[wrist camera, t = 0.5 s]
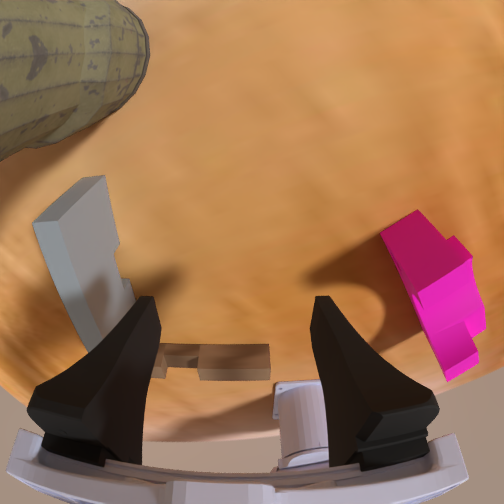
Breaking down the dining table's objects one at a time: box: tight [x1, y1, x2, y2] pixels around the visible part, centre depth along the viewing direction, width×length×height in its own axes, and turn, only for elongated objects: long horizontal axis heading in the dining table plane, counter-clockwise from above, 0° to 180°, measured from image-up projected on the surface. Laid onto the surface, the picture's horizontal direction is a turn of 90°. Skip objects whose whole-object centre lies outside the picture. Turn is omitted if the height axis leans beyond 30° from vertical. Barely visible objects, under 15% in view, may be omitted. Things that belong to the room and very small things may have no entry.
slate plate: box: [32, 175, 136, 353], centre depth 21 cm, size 15×2×7 cm, turn 0°
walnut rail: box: [151, 343, 271, 381], centre depth 29 cm, size 17×2×3 cm, turn 90°
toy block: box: [380, 209, 486, 382], centre depth 23 cm, size 15×6×8 cm, turn 36°
